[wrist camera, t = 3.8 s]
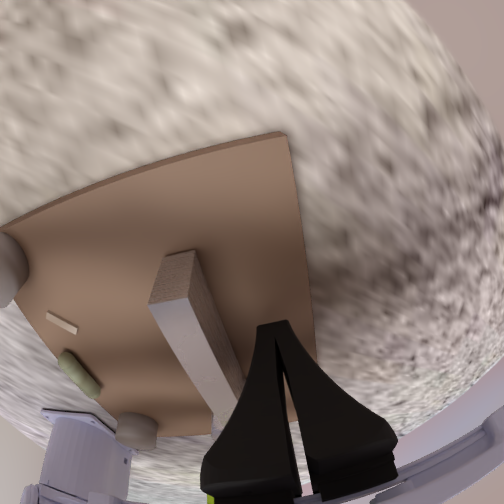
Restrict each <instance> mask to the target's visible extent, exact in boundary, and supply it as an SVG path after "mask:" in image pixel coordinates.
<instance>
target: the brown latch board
mask: <svg viewBox="0 0 504 504" xmlns="http://www.w3.org/2000/svg"><path fill="white" fill-rule="evenodd" d="M192 250H195V251H196V254H197V257H198V259H199V262H200V265H201V268H202V271H203V273H204V276H205V279H206V281H207V284H208V287H209V290H210V292H211V295H212V298H213V300H214V303H215V305H216V308H217V311H218V313H219V316H220V318H221V321H222V324H223V326H224V329H225V331H226V334H227V336H228V339H229V341H230V344H231V346H232V349H233V351H234V354H235V356H236V358H237V361H238V363H239V366H240V368H241V370H242V373H243V375H244V378H245V379H247V376H248V372H249V369H250V366H251V361H252V357H253V353H254V347H255V341H256V327H257V326H258V325H262V324H267V323H272V322H276V321H280V320H285V319H286V320H288V321H289V323H290V325H291V327H292V329H293V331H294V333H295V335H296V336H297V338H298V339H299V341H300V342H301V344H302V345H303V347H304V348H305V349H306V351H307V352H308V353H309V355H310V356H311V357H312V359H313V360H314V361H315V362H316V363H317V355H316V343H315V332H314V322H313V312H312V303H311V294H310V285H309V277H308V269H307V261H306V253H305V246H304V238H303V231H302V224H301V218H300V211H299V205H298V198H297V192H296V186H295V180H294V174H293V168H292V162H291V157H290V151H289V146H288V140H287V136H286V135H284V134H283V133H281V132H273V133H268V134H263V135H258V136H254V137H249V138H244V139H240V140H235V141H231V142H227V143H223V144H219V145H215V146H211V147H207V148H203V149H199V150H196V151H192V152H188V153H185V154H181V155H178V156H174V157H171V158H168V159H164V160H161V161H158V162H155V163H152V164H149V165H146V166H142V167H139V168H137V169H134V170H131V171H128V172H125V173H122V174H119V175H117V176H114V177H111V178H108V179H106V180H103V181H100V182H98V183H95V184H93V185H90V186H88V187H85V188H83V189H80V190H78V191H75V192H73V193H71V194H68V195H66V196H64V197H61V198H59V199H57V200H55V201H52V202H50V203H48V204H46V205H44V206H42V207H39V208H37V209H35V210H33V211H31V212H29V213H27V214H25V215H23V216H21V217H19V218H17V219H15V220H13V221H11V222H9V223H7V224H5V225H4V226H2V227H0V308H5V307H7V306H8V305H9V303H10V302H11V301H12V299H14V301H15V302H16V304H17V305H18V307H19V308H20V310H21V311H22V313H23V314H24V316H25V317H26V319H27V320H28V321H29V323H30V324H31V326H32V327H33V328H34V330H35V331H36V333H37V334H38V335H39V337H40V338H41V339H42V341H43V342H44V343H45V344H46V346H47V347H48V348H49V349H50V351H51V352H52V353H53V354H54V356H55V357H56V358H57V359H58V364H59V366H60V367H61V369H62V370H63V371H64V372H65V373H66V374H67V375H68V376H69V378H70V379H71V380H72V381H73V382H74V383H75V384H76V385H77V386H78V387H79V388H80V389H81V390H82V391H83V392H84V393H85V394H86V395H87V396H88V397H89V398H91V399H95V400H96V401H97V402H98V403H99V404H100V405H101V406H102V407H103V408H104V409H105V410H106V411H107V412H108V413H109V414H110V415H111V416H112V417H114V418H115V419H116V420H117V421H118V424H117V429H116V434H115V439H116V440H117V441H118V442H119V443H121V444H122V445H124V446H127V447H130V448H133V449H137V450H153V449H155V448H156V440H157V437H171V436H193V435H206V434H211V409H210V407H209V406H208V404H207V403H206V401H205V400H204V398H203V397H202V396H201V394H200V393H199V391H198V390H197V388H196V387H195V385H194V384H193V382H192V380H191V379H190V377H189V376H188V374H187V373H186V371H185V370H184V368H183V366H182V365H181V363H180V362H179V360H178V358H177V357H176V355H175V353H174V352H173V350H172V348H171V347H170V345H169V343H168V342H167V340H166V338H165V336H164V335H163V333H162V331H161V329H160V328H159V326H158V324H157V322H156V320H155V319H154V317H153V315H152V313H151V311H150V309H149V308H148V306H147V305H148V301H149V298H150V295H151V292H152V288H153V285H154V282H155V279H156V276H157V273H158V270H159V267H160V264H161V261H162V258H163V257H167V256H171V255H175V254H179V253H183V252H188V251H192ZM283 376H284V373H283ZM284 385H285V396H286V406H287V416H288V422H294V421H298V418H297V414H296V410H295V407H294V404H293V401H292V398H291V395H290V392H289V388H288V385H287V382H286V379H285V376H284Z"/></svg>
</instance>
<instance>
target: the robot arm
mask: <svg viewBox="0 0 504 504" xmlns="http://www.w3.org/2000/svg"><path fill="white" fill-rule="evenodd" d="M283 373H284V376H285V379H286V382H287V385H288V388H289V392H290V395H291V398H292V401H293V404H294V407H295V410H296V414H297V418H298V422H299V427H300V432H301V436H302V441H303V446H304V451H305V456H306V460H307V465H308V470H309V475H310V480H311V485H312V490H313V495H309V496H304V497H302V495H301V494H302V493H303V492H302V487H301V482H300V477H299V472H298V468H297V463H296V458H295V453H294V448H293V443H292V438H291V432H290V427H289V422H288V416H287V406H286V396H285V385H284V376H283ZM40 413H41V414H42V415H43V416H44V417H45V418H46V419H48V420H49V421H50V422H51V423H52V424H54V426H53V429H52V432H51V436H50V439H49V443H48V447H47V451H46V455H45V459H44V463H43V467H42V472H41V476H40V481H39V484H36V485H32V484H30V485H29V486H26V487H25V488H24V490H23V494H22V498H21V502H20V504H147V503H139V502H131V501H126V499H127V495H128V486H129V476H130V467H131V459H132V455H138V454H139V452H138V451H137V450H136V449H133V448H130V447H127V446H124V445H122V444H121V443H119V442H118V441H117V440H116V439H115V433H114V432H112V431H111V430H110V429H109V428H108V427H106V426H105V425H104V424H103V423H102V422H100V421H99V420H98V419H97V418H96V417H95V416H93V415H91V414H82V413H69V412H59V411H50V410H41V412H40ZM397 442H398V439H397V436H396V434H395V433H394V431H393V429H392V428H391V426H390V425H389V424H388V422H387V421H386V420H385V419H384V418H382V417H380V416H379V415H377V414H375V413H374V412H372V411H371V410H369V409H368V408H366V407H365V406H363V405H362V404H360V403H359V402H358V401H356V400H355V399H354V398H352V397H351V396H350V395H349V394H347V393H346V392H345V391H344V390H342V389H341V388H340V387H339V386H338V385H337V384H336V383H335V382H334V381H333V380H332V379H331V378H330V377H329V376H328V375H327V374H326V373H325V372H324V371H323V370H322V369H321V368H320V367H319V366H318V365H317V363H316V362H315V361H314V360H313V359H312V357H311V356H310V355H309V353H308V352H307V351H306V349H305V348H304V347H303V345H302V344H301V342H300V341H299V339H298V338H297V336H296V335H295V333H294V331H293V329H292V327H291V325H290V323H289V321H288V320H286V319H285V320H280V321H276V322H272V323H267V324H262V325H258V326H257V327H256V341H255V347H254V353H253V357H252V361H251V366H250V369H249V372H248V376H247V379H246V382H245V385H244V388H243V390H242V393H241V395H240V398H239V400H238V402H237V404H236V407H235V409H234V411H233V413H232V415H231V417H230V418H229V420H228V422H227V424H226V425H225V427H224V429H223V430H222V432H221V434H220V435H219V437H218V438H217V440H216V441H215V443H214V444H213V445H212V447H211V448H210V449H209V451H208V452H207V453H206V455H205V456H204V458H203V462H202V467H201V473H200V489H201V490H202V491H203V492H204V493H206V494H208V495H210V496H212V497H214V504H341V503H344V502H348V501H351V500H355V499H358V498H361V497H364V496H367V495H370V494H373V493H376V492H379V491H381V490H384V489H387V488H389V487H392V486H394V485H397V484H399V483H401V484H399V485H397V486H395V487H393V488H391V489H388V490H386V491H384V492H382V493H379V494H377V495H376V496H375V497H376V498H374V499H372V500H371V501H370V504H442V503H444V502H446V501H447V500H449V499H451V498H453V497H454V496H456V495H458V494H459V493H461V492H462V491H464V490H466V489H467V488H469V487H470V486H472V485H474V484H475V483H476V482H478V481H479V480H481V479H482V478H484V477H485V476H487V475H488V474H489V473H491V472H492V471H493V470H495V469H496V468H497V467H499V466H500V465H501V464H502V463H504V406H502V407H501V408H499V409H498V410H497V411H495V412H494V413H492V414H491V415H490V416H489V417H487V419H485V421H484V422H483V423H482V425H480V426H478V427H477V428H475V429H474V430H472V431H470V432H469V433H467V434H466V435H464V436H462V437H460V438H459V439H457V440H455V441H453V442H452V443H450V444H448V445H446V446H444V447H442V448H440V449H439V450H437V451H435V452H433V453H431V454H429V455H427V456H424V457H422V458H420V459H418V460H416V461H414V462H411V463H409V464H407V465H404V466H402V467H400V468H397V469H396V467H395V464H394V460H395V458H394V455H393V452H392V451H393V449H394V448H395V446H396V445H397ZM404 481H405V482H404ZM402 482H404V483H402Z"/></svg>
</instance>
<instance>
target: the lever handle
mask: <svg viewBox="0 0 504 504" xmlns="http://www.w3.org/2000/svg"><path fill="white" fill-rule="evenodd" d="M147 306H148V308H149V309H150V311H151V313H152V315H153V317H154V319H155V320H156V322H157V324H158V326H159V328H160V329H161V331H162V333H163V335H164V336H165V338H166V340H167V342H168V343H169V345H170V347H171V348H172V350H173V352H174V353H175V355H176V357H177V358H178V360H179V362H180V363H181V365H182V366H183V368H184V370H185V371H186V373H187V374H188V376H189V377H190V379H191V380H192V382H193V384H194V385H195V387H196V388H197V390H198V391H199V393H200V394H201V396H202V397H203V398H204V400H205V401H206V403H207V404H208V406H209V407H210V409H211V436H212V438H213V439H214V440H215V441H216V440H217V438H218V437H219V435H220V434H221V432H222V430H223V429H224V427H225V425H226V424H227V422H228V420H229V418H230V417H231V415H232V413H233V411H234V409H235V407H236V404H237V402H238V400H239V398H240V395H241V393H242V390H243V388H244V385H245V382H246V379H245V378H244V375H243V373H242V370H241V368H240V366H239V363H238V361H237V358H236V356H235V354H234V351H233V349H232V346H231V344H230V341H229V339H228V336H227V334H226V331H225V329H224V326H223V324H222V321H221V318H220V316H219V313H218V311H217V308H216V305H215V303H214V300H213V298H212V295H211V292H210V290H209V287H208V284H207V281H206V279H205V276H204V273H203V271H202V268H201V265H200V262H199V259H198V257H197V254H196V251H195V250H192V251H188V252H183V253H179V254H175V255H171V256H167V257H163V258H162V261H161V264H160V267H159V270H158V273H157V276H156V279H155V282H154V285H153V288H152V292H151V295H150V298H149V301H148V305H147Z"/></svg>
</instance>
